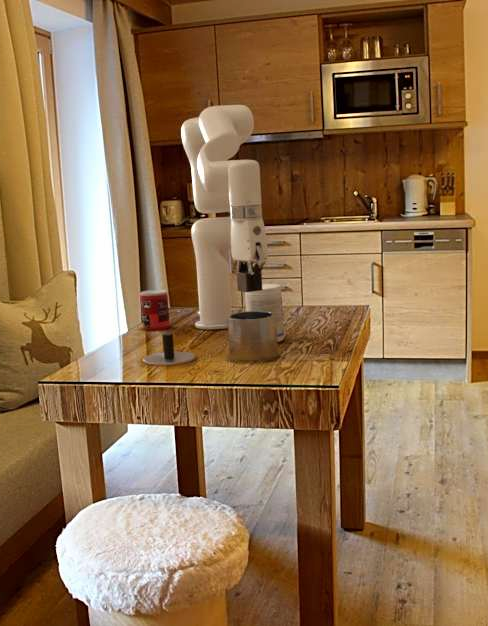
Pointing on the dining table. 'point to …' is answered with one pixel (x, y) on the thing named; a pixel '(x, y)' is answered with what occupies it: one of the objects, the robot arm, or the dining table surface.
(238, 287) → the walnut block
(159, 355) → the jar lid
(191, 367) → the dining table surface
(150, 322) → the canned food
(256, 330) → the steel jar
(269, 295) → the supplement tub
